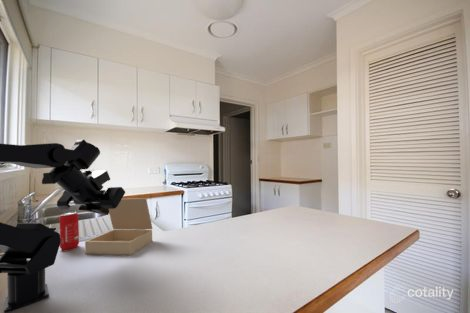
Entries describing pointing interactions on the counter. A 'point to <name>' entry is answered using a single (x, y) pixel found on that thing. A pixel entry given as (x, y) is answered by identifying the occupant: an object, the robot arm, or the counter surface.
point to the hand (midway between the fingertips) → (107, 213)
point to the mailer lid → (131, 214)
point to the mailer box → (118, 242)
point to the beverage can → (69, 231)
